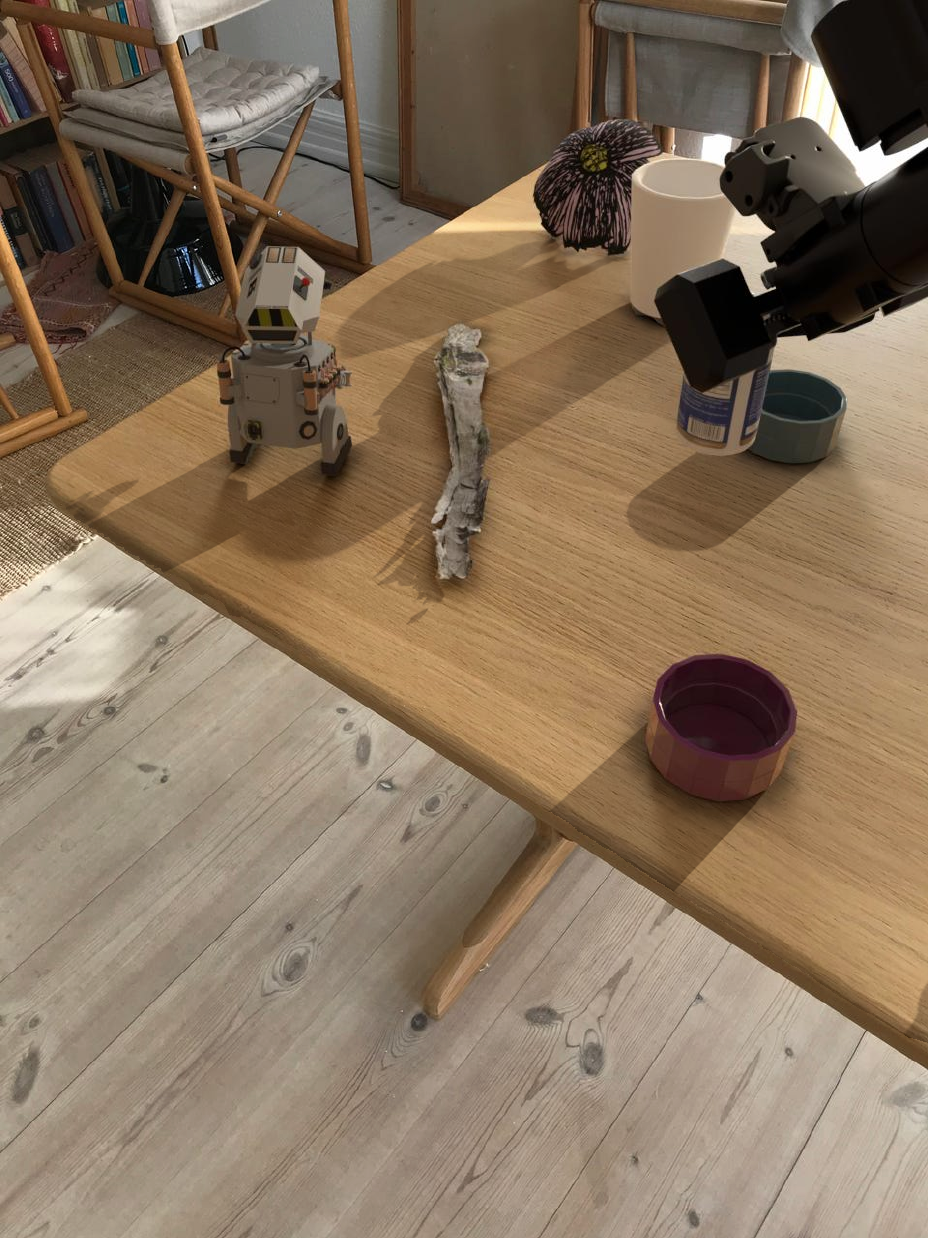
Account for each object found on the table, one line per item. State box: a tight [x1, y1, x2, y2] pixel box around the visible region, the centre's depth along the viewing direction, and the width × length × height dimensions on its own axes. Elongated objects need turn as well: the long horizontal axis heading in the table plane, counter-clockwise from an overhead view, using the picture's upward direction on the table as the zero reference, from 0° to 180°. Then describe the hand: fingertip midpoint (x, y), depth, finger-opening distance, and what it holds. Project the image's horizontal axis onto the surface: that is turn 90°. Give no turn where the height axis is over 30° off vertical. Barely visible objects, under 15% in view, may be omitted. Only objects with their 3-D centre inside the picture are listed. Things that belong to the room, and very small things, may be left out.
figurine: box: [216, 245, 353, 477], centre depth 78 cm, size 9×12×15 cm
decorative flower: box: [532, 118, 665, 256], centre depth 109 cm, size 15×12×15 cm
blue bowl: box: [747, 368, 848, 464], centre depth 82 cm, size 8×8×4 cm
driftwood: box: [430, 322, 491, 580], centre depth 83 cm, size 37×2×5 cm
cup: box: [629, 157, 737, 327], centre depth 95 cm, size 10×10×13 cm
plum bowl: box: [644, 653, 798, 802], centre depth 59 cm, size 8×8×4 cm
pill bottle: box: [675, 289, 775, 457], centre depth 65 cm, size 5×5×10 cm
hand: (714, 343), depth 65 cm, fingers closed on pill bottle, 5 cm apart
